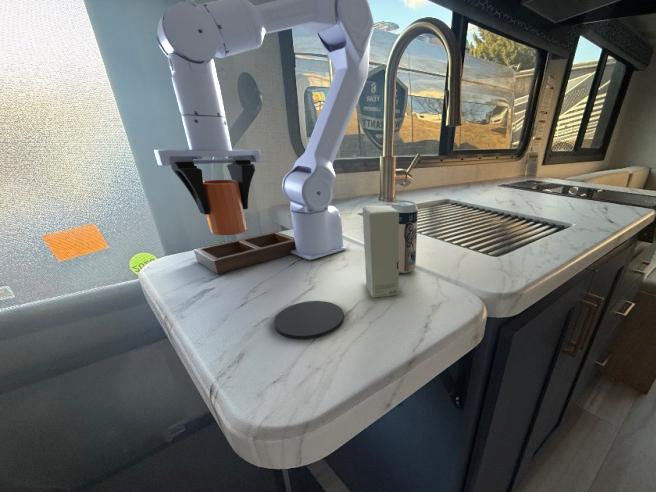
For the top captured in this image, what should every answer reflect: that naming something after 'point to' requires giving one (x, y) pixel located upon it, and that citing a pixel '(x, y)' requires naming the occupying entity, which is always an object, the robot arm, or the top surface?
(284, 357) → the top surface
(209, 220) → the cup
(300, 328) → the coaster
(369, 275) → the box
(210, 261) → the cup holder
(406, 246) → the beer can
